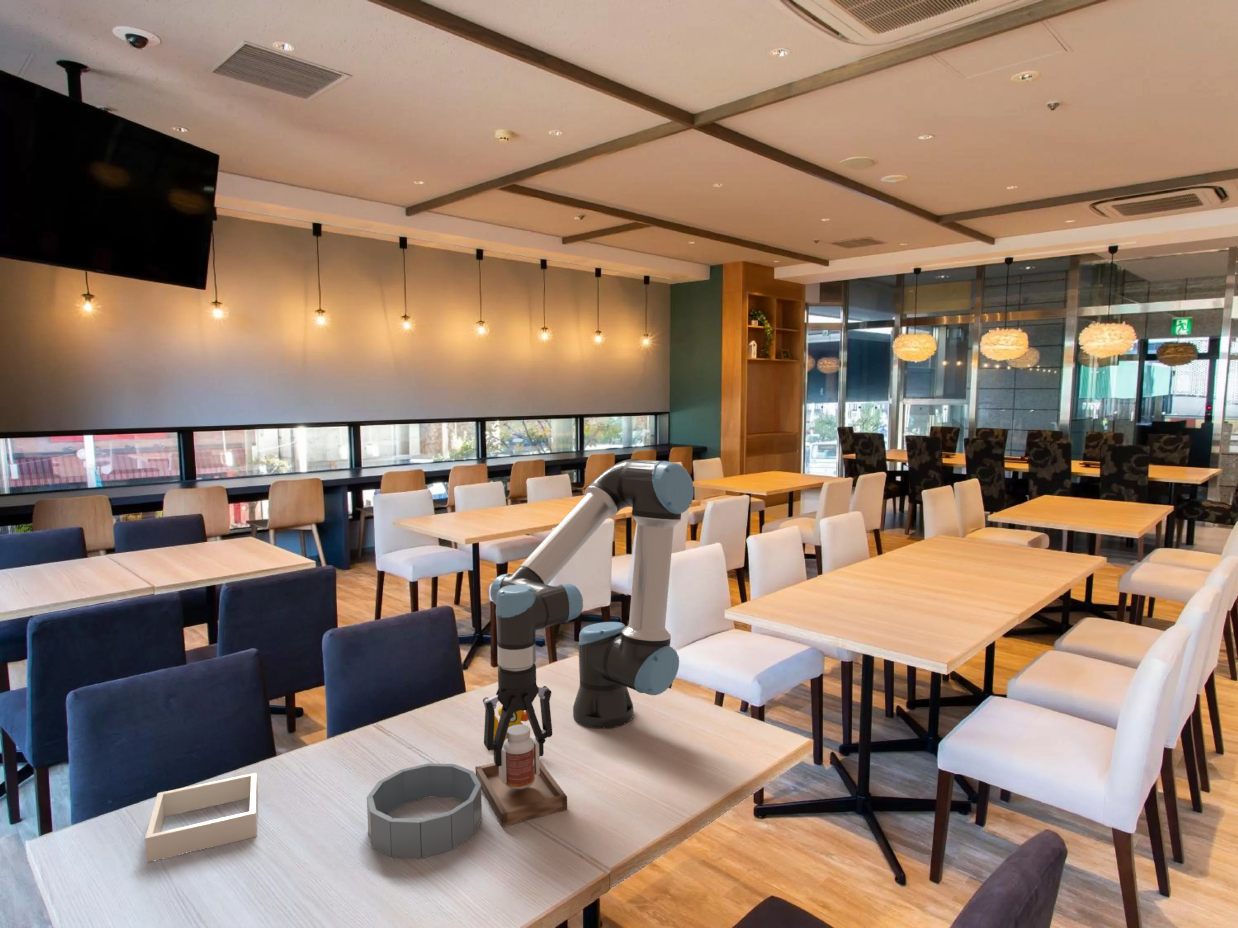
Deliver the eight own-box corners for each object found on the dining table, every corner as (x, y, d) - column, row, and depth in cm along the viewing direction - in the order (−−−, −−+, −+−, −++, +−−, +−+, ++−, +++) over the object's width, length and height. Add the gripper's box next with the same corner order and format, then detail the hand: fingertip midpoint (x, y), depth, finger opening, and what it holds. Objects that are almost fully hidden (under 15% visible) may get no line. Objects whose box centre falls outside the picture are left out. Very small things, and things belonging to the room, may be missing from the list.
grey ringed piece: (465, 785, 148) (464, 754, 148) (492, 837, 130) (491, 803, 130) (363, 810, 140) (362, 778, 139) (377, 870, 122) (375, 833, 121)
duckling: (537, 740, 167) (536, 699, 166) (530, 752, 162) (529, 709, 161) (491, 737, 169) (489, 696, 168) (482, 747, 164) (481, 705, 163)
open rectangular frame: (258, 793, 146) (256, 772, 145) (256, 836, 132) (255, 812, 131) (159, 815, 139) (157, 792, 138) (146, 862, 124) (144, 838, 124)
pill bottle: (540, 784, 144) (539, 731, 143) (512, 793, 140) (510, 739, 140) (526, 771, 149) (525, 719, 148) (499, 779, 146) (497, 727, 145)
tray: (534, 764, 156) (534, 753, 156) (567, 809, 139) (567, 796, 139) (475, 778, 151) (475, 767, 150) (502, 826, 134) (501, 813, 133)
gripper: (555, 650, 150) (557, 756, 152) (464, 666, 142) (467, 778, 144) (568, 662, 143) (570, 773, 145) (473, 679, 135) (477, 796, 137)
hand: (519, 775), depth 145 cm, fingers closed on pill bottle, 6 cm apart
